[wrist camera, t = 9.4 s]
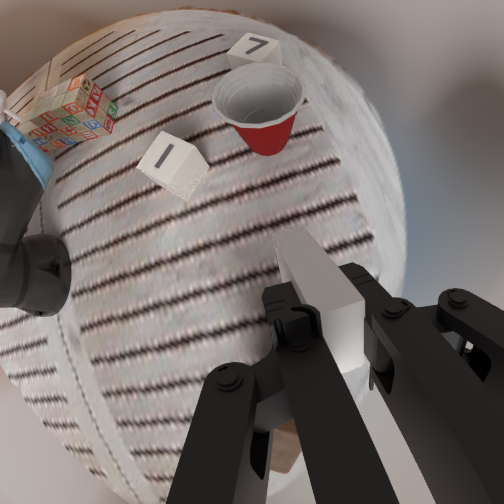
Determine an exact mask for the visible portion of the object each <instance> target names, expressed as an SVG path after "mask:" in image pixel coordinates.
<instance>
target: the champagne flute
mask: <svg viewBox="0 0 504 504" xmlns="http://www.w3.org/2000/svg"><path fill="white" fill-rule="evenodd" d="M6 105H7V98H6V94H5V92H4V91H2V90H0V113H2V112H3V111H4V112H5V113H7V114H8V115H10V116H11V117H13V118H14V119H16V120H18V121H19V122H20V121H21V118H22V117H20V116H18V115H17V114H15V113H14V112H12V111H11V110H9V109H8V108H6Z"/></svg>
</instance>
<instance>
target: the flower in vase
mask: <svg viewBox="0 0 504 504" xmlns="http://www.w3.org/2000/svg"><path fill="white" fill-rule="evenodd" d="M2 121H5V117H4V115H0V124H1V122H2Z"/></svg>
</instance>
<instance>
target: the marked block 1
mask: <svg viewBox="0 0 504 504" xmlns="http://www.w3.org/2000/svg"><path fill="white" fill-rule="evenodd" d="M137 168H138V169H139V170H140V171H142V172H143V173H144V174H145V175H147V176H148V177H149V178H151V179H152V180H153V181H154V182H156V183H157V184H158V185H160V186H162V187H164V188H165V189H167V190H169V191H171V192H172V193H174V194H176V195H177V196H179V197H181V198H183V199H184V200H186V201H188V199H189V198H190V196H191V195H192V193H193V192H194V190H195V189H196V187H197V186H198V184H199V182H200V181H201V179H202V178H203V176H204V175H205V173H206V172H207V170H208V169H209V165H208V164H207V162H206V161H205V159H204V158H203V157H202V155H201V154H200V152H199V151H198V149H197V148H196V146H194V145H192V144H190V143H188V142H186V141H183V140H181V139H179V138H177V137H175V136H172V135H170V134H168V133H166V132H163V131H161V132H160V134H159V135H158V136H157V138H156V139H155V141H154V142H153V143H152V145H151V146H150V148H149V149H148V151H147V152H146V153H145V155H144V156H143V158H142V159H141V161H140V162H139V164H138V165H137Z"/></svg>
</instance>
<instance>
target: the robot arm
mask: <svg viewBox="0 0 504 504" xmlns="http://www.w3.org/2000/svg"><path fill="white" fill-rule="evenodd" d="M53 169H54V165H53V161H52V159H51V158H50V157H49V156H48V155H47V154H46V153H45V152H44V151H43V150H41V149H40V148H39V147H38V146H37V145H35V144H34V143H33V142H32V141H31V140H29V139H28V138H26V137H25V136H24V135H23V134H22V133H21V132H20V131H19V130H17V129H16V128H15V127H14V126H13V125H11V124H10V123H9V122H7V121H2V122H1V124H0V308H8V307H16V308H18V309H21V310H23V311H25V312H28V313H30V314H32V315H35V316H39V317H45V316H52V315H55V314H56V313H58V312H59V311H60V310H61V308H62V307H63V305H64V304H65V302H66V299H67V297H68V293H69V289H70V283H71V267H70V261H69V256H68V253H67V251H66V248H65V247H64V245H63V243H62V242H61V241H60V240H59V239H58V238H56V237H54V236H51V235H47V234H37V235H32V236H27V237H23V236H24V233H25V231H26V228H27V226H28V224H29V222H30V219H31V217H32V215H33V213H34V211H35V209H36V207H37V205H38V202H39V200H40V198H41V197H42V195H43V193H44V192H45V190H46V185H47V183H48V181H49V179H50V177H51V175H52V173H53ZM272 237H273V242H274V246H275V251H276V255H277V260H278V264H279V269H280V273H281V278H282V283H281V284H278V285H274V286H270V287H266V288H265V290H264V292H263V294H262V300H263V304H264V307H265V311H266V315H267V319H268V323H269V328H270V332H271V335H272V339H273V346H272V349H271V351H270V352H269V354H268V355H267V356H266V357H265V358H264V359H262V360H261V361H259V362H257V363H255V364H254V365H252V366H248V365H246V364H244V363H238V362H231V363H225V364H222V365H220V366H218V367H216V368H215V369H214V370H212V371H211V372H210V373H209V374H208V376H207V378H206V379H205V381H204V384H203V387H202V391H201V394H200V397H199V400H198V403H197V406H196V409H195V412H194V416H193V419H192V422H191V425H190V428H189V431H188V434H187V438H186V441H185V444H184V447H183V450H182V453H181V456H180V460H179V463H178V466H177V469H176V472H175V475H174V479H173V482H172V485H171V488H170V491H169V495H168V498H167V501H166V504H265V502H266V495H267V487H268V479H269V471H270V463H271V454H272V445H273V435H274V428H276V427H278V426H280V425H282V424H283V423H285V422H287V421H289V420H290V419H292V418H294V422H295V426H296V430H297V433H298V437H299V441H300V445H301V448H302V452H303V456H304V460H305V463H306V467H307V471H308V475H309V478H310V482H311V486H312V490H313V493H314V497H315V501H316V504H399V501H398V499H397V497H396V494H395V492H394V490H393V487H392V485H391V483H390V480H389V478H388V475H387V473H386V471H385V469H384V466H383V464H382V462H381V459H380V457H379V455H378V453H377V450H376V448H375V446H374V444H373V441H372V439H371V437H370V435H369V432H368V430H367V428H366V426H365V424H364V421H363V419H362V417H361V415H360V413H359V410H358V408H357V406H356V404H355V402H354V400H353V398H352V395H351V393H350V391H349V389H348V387H347V385H346V383H345V381H344V378H343V376H342V373H345V372H348V371H350V370H353V369H356V368H359V367H361V366H364V362H365V355H366V357H367V359H368V360H369V362H370V376H369V388H370V390H373V386H374V383H375V385H376V386H377V388H378V390H379V392H380V394H381V395H382V397H383V399H384V401H385V403H386V405H387V406H388V408H389V410H390V412H391V414H392V416H393V418H394V420H395V421H396V424H397V425H398V427H399V429H400V431H401V433H402V435H403V437H404V439H405V441H406V443H407V445H408V447H409V449H410V451H411V453H412V454H413V457H414V459H415V461H416V463H417V465H418V467H419V469H420V471H421V473H422V475H423V477H424V479H425V481H426V483H427V485H428V487H429V489H430V492H431V494H432V496H433V498H434V500H435V503H436V504H504V311H503V310H501V309H499V308H498V307H496V306H494V305H492V304H490V303H489V302H487V301H485V300H483V299H482V298H480V297H478V296H476V295H474V294H473V293H471V292H469V291H466V290H463V289H458V288H453V289H448V290H446V291H444V292H442V293H441V294H440V296H439V299H438V305H432V306H425V307H415V306H414V305H413V304H412V303H411V302H409V301H408V300H406V299H403V298H396V297H392V296H391V295H390V294H389V293H388V292H387V291H386V290H385V289H384V288H383V287H382V286H381V285H380V284H379V283H378V282H377V281H376V280H375V279H374V277H373V276H372V275H371V274H369V272H368V271H367V270H366V269H365V268H364V267H363V266H360V265H358V264H355V263H353V262H352V263H348V264H345V265H342V266H337V265H336V264H335V263H334V261H333V260H332V259H331V258H330V257H329V255H328V254H327V253H326V252H325V251H324V250H323V248H322V247H321V246H320V245H319V244H318V243H317V241H316V240H315V239H314V238H313V237H312V236H311V235H310V233H309V232H308V231H307V230H306V229H305V228H304V227H303V225H302V226H298V227H294V228H290V229H286V230H283V231H279V232H275V233H272ZM467 341H469V342H470V343H472V344H473V348H472V349H467V348H465V346H466V343H467Z"/></svg>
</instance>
